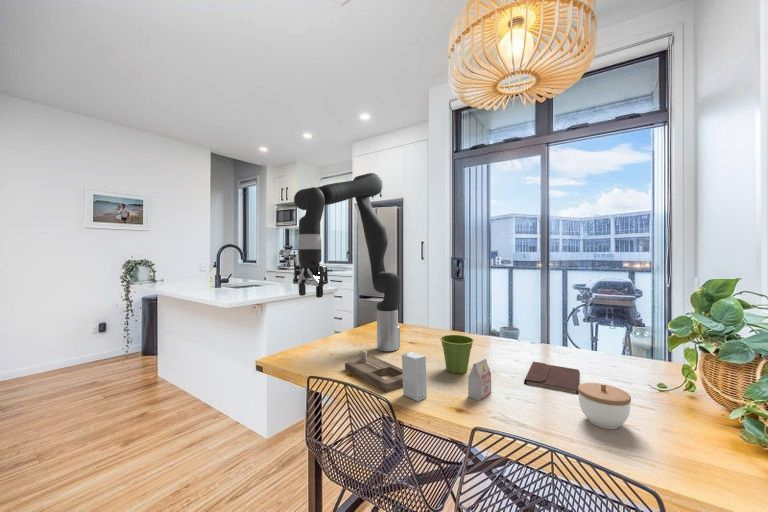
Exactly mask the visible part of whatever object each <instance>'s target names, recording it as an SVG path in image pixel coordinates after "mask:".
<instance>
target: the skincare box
mask: <svg viewBox="0 0 768 512" xmlns="http://www.w3.org/2000/svg"><path fill="white" fill-rule="evenodd" d="M426 358H427V357H426V355H422V354H420V353H416V352H412V351H410V352H406V353H404V354H403V353H402V354H401V361H402V362H401V364H402V365H401V369H402V371H403V387H402V393H403V396H405V397H408V398H409V399H412V400H414V401H416V402H419V401H423V400H425V399H427V397H428V395H427V365H426V364H427V361H426Z"/></svg>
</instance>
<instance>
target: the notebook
mask: <svg viewBox="0 0 768 512" xmlns="http://www.w3.org/2000/svg"><path fill="white" fill-rule="evenodd" d="M525 382H526V383H527V384H526V383H525ZM523 383H525V384H526V385H530V384H531V385H532V386H534V387H535V386H536V387H540V388H541V387H542V388H546V389H552V390H557V391H562V392H567V393H572V394H578V395H579V392H578V386H579V385H580V370H579V369H578V368H572V367H566V366H565V367H564V366H560V365H553V364H547V363H543V362H539V361H532V363H531V365H530V367H529V369H528V372H527V373H526V376H525V379H524V381H523ZM531 385H530V386H531Z"/></svg>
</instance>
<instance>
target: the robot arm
mask: <svg viewBox="0 0 768 512" xmlns="http://www.w3.org/2000/svg"><path fill="white" fill-rule="evenodd" d="M382 190H383V181H382V178H381V177H380V175H378V174H377V173H374V172H369V173H365V174H361V175H358V176H355V177H354V178H353V180H348V181H347V180H346V181H340V182H334V183H333V182H332V183H328V184H324V185H322V186H317V187H315V186H313V187H308V188H302V189H299V190H298V191H296V192H295V194H294V197H293V203H294V205H295V206H296V207H297V208H298V209H299V210H301V211H305V215H303V216H302V217H300V218H299V220H298V242H297V243H298V245H297V246H298V247H297V248H298V249H297V250H298V263H300V265H299V264H295V265H294V268H293V282H294V283H297V285H298V295H299V296H300V297H301V296H302V297H303V296H306V294H307V293H306V289H307V288H306V282H307V280H309V279H310V280H312V281H313V282H314V284H315V285H316V286H315V297H316V298H322V297H323V295H324V285H325V286H326V285H328V284H329V278H328V265H321V264H320V263H322V261H323V260H322V257H323V256H322V255H323V254H322V239H321V237H322V236H321V221H322V218H323V213H324V209H325V206H330V205H334V204H337V203H340V202H344V201H346V200H347V201H348V200H350V199H355V201H356V205H357V208H358V211H359V215H360V219H361V224H362V229H363V233H364V239H365V243H366V248H367V252H368V258H369V264H370V271H371V279H372V280H371V281H372V282H371V283H372V286H373V289H374V290H375V292H376V293H379V294H383V295H384V296H383V300H380V301H378V302H377V303H376V350H377V349H378V350H377V351H379V350H380V351H379V352H382V351H393V352H395V351H394V350H397V349H398V348H400V349H401V329H400V328H401V327H400V326H399V305H400V302H401V301H400V300H401V280H400V279H401V278H400V276H399V275H398V273H395V272H387V271H386V267H385V261H384V260H385V254H386V251H387V248H388V243H389V240H388V235H387V229H386V226H385V224H384V222H383V221H382V219H381V218H380V217H379V215H378V214H377V213H376V212H375V211H374V208H373V205H372V203H371V202H372V201H371V197H375V196H378V195H379V194H381V192H382ZM398 350H399V349H398ZM398 350H397V351H398Z"/></svg>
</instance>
